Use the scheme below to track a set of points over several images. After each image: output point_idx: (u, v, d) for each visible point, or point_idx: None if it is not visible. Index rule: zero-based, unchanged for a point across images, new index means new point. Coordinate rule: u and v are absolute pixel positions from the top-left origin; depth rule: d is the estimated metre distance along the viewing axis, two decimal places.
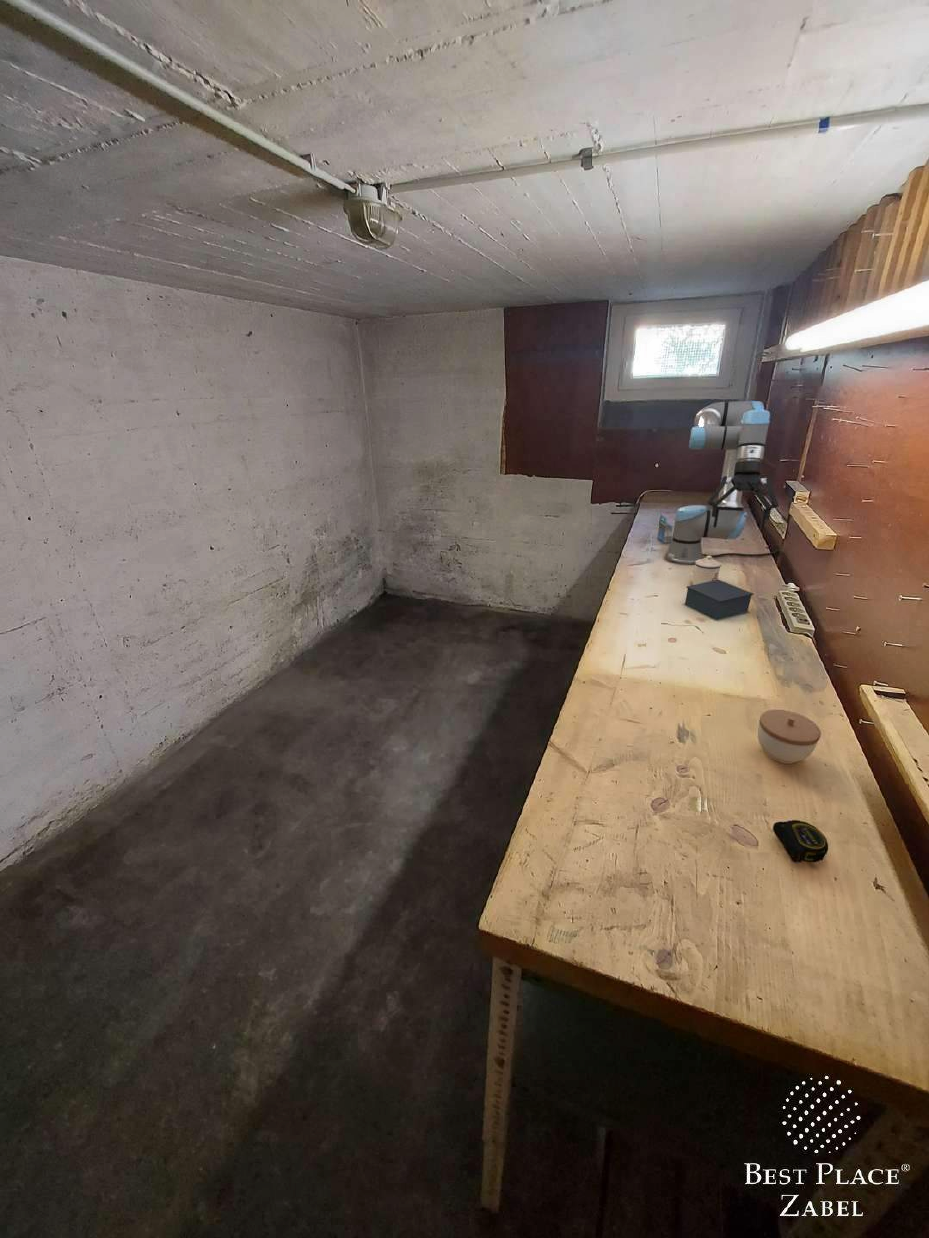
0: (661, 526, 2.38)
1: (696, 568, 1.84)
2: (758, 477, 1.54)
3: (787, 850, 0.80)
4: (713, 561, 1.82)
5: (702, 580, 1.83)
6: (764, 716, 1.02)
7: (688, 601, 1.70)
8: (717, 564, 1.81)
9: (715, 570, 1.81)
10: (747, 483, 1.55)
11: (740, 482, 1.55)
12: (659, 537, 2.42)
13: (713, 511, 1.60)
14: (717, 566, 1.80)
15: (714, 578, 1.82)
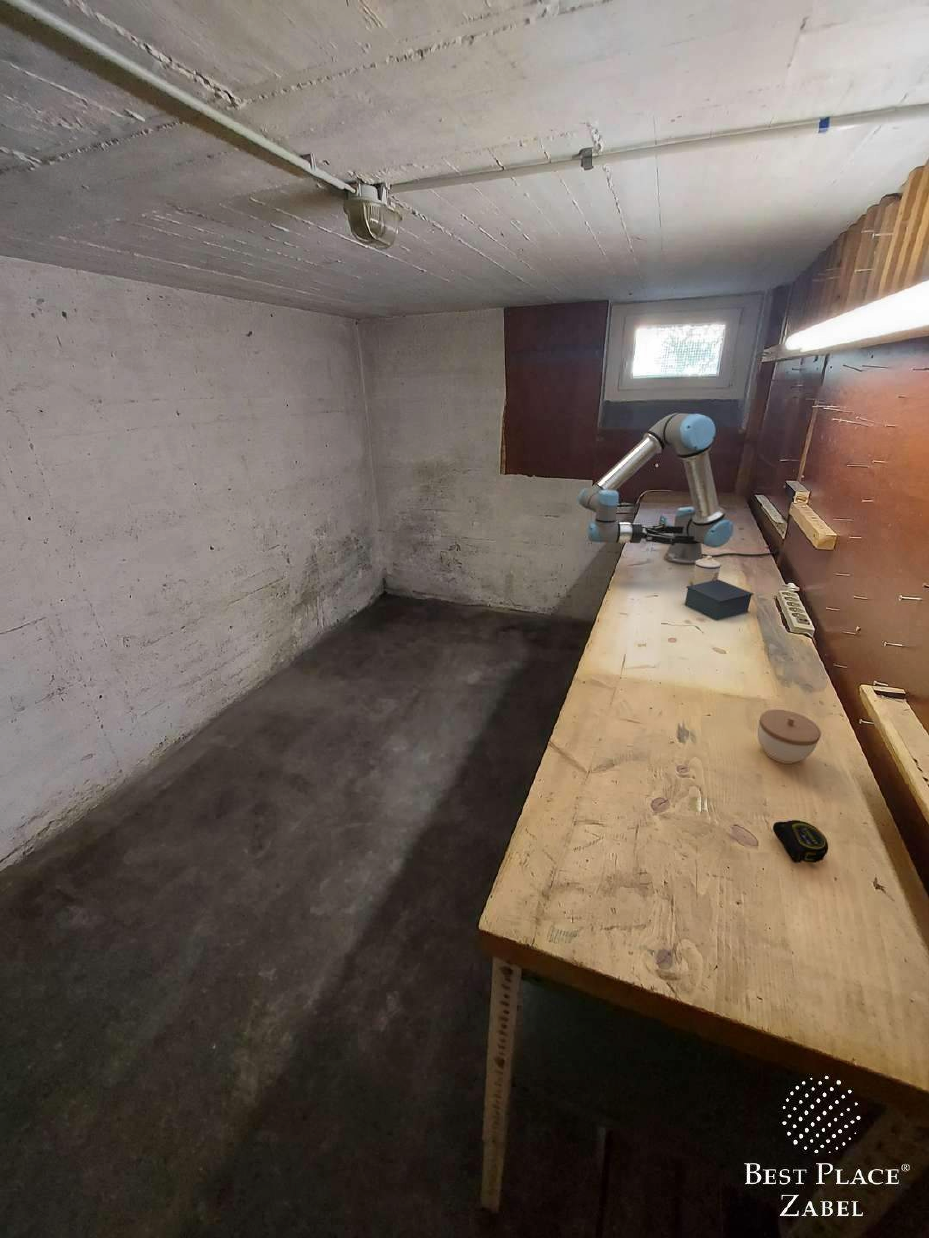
0: None
1: (696, 568, 1.84)
2: (644, 538, 1.81)
3: (787, 850, 0.80)
4: (713, 561, 1.82)
5: (702, 580, 1.83)
6: (764, 716, 1.02)
7: (688, 601, 1.70)
8: (717, 564, 1.81)
9: (715, 570, 1.81)
10: None
11: None
12: None
13: None
14: (717, 566, 1.80)
15: (714, 578, 1.82)
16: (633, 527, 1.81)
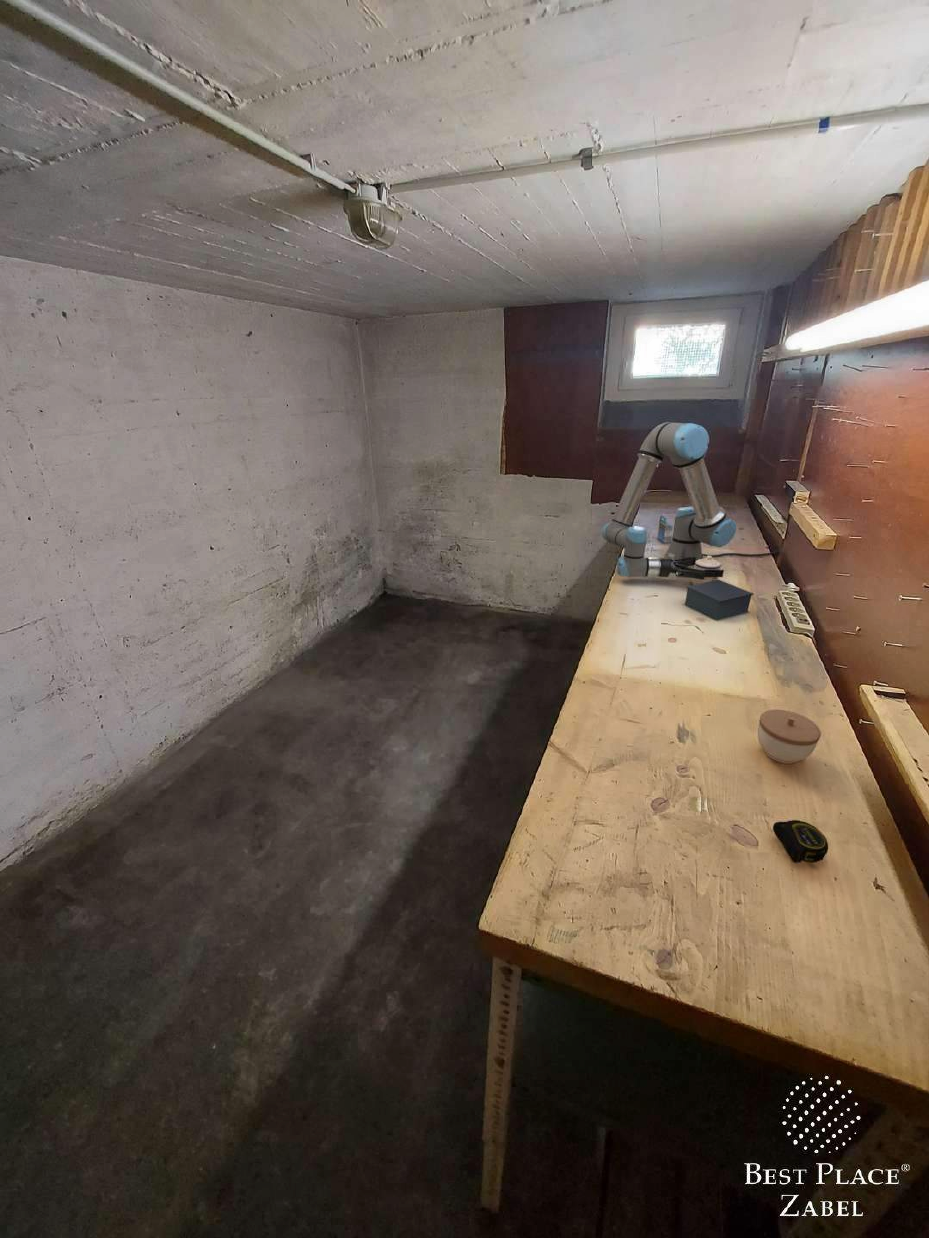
0: (661, 526, 2.38)
1: (696, 568, 1.84)
2: None
3: (787, 850, 0.80)
4: (713, 561, 1.82)
5: (702, 580, 1.83)
6: (764, 716, 1.02)
7: (688, 601, 1.70)
8: (717, 564, 1.81)
9: None
10: None
11: None
12: (659, 537, 2.42)
13: None
14: (717, 566, 1.80)
15: (714, 578, 1.82)
16: (661, 562, 1.86)
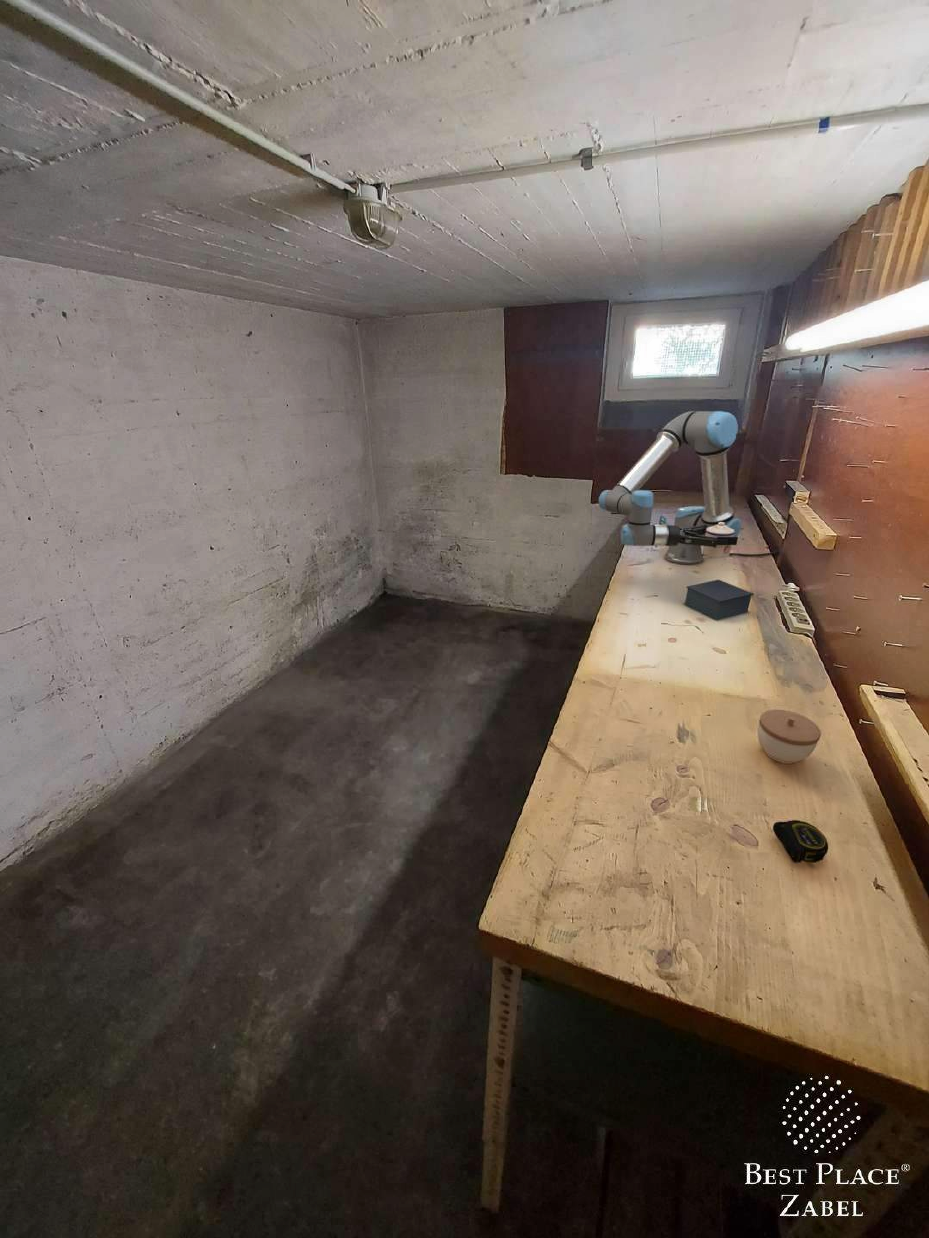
0: None
1: None
2: (682, 541, 1.70)
3: (787, 850, 0.80)
4: (726, 528, 1.66)
5: (713, 549, 1.68)
6: (764, 716, 1.02)
7: (688, 601, 1.70)
8: (730, 531, 1.65)
9: None
10: None
11: None
12: None
13: None
14: (730, 533, 1.65)
15: (727, 546, 1.67)
16: (669, 529, 1.70)
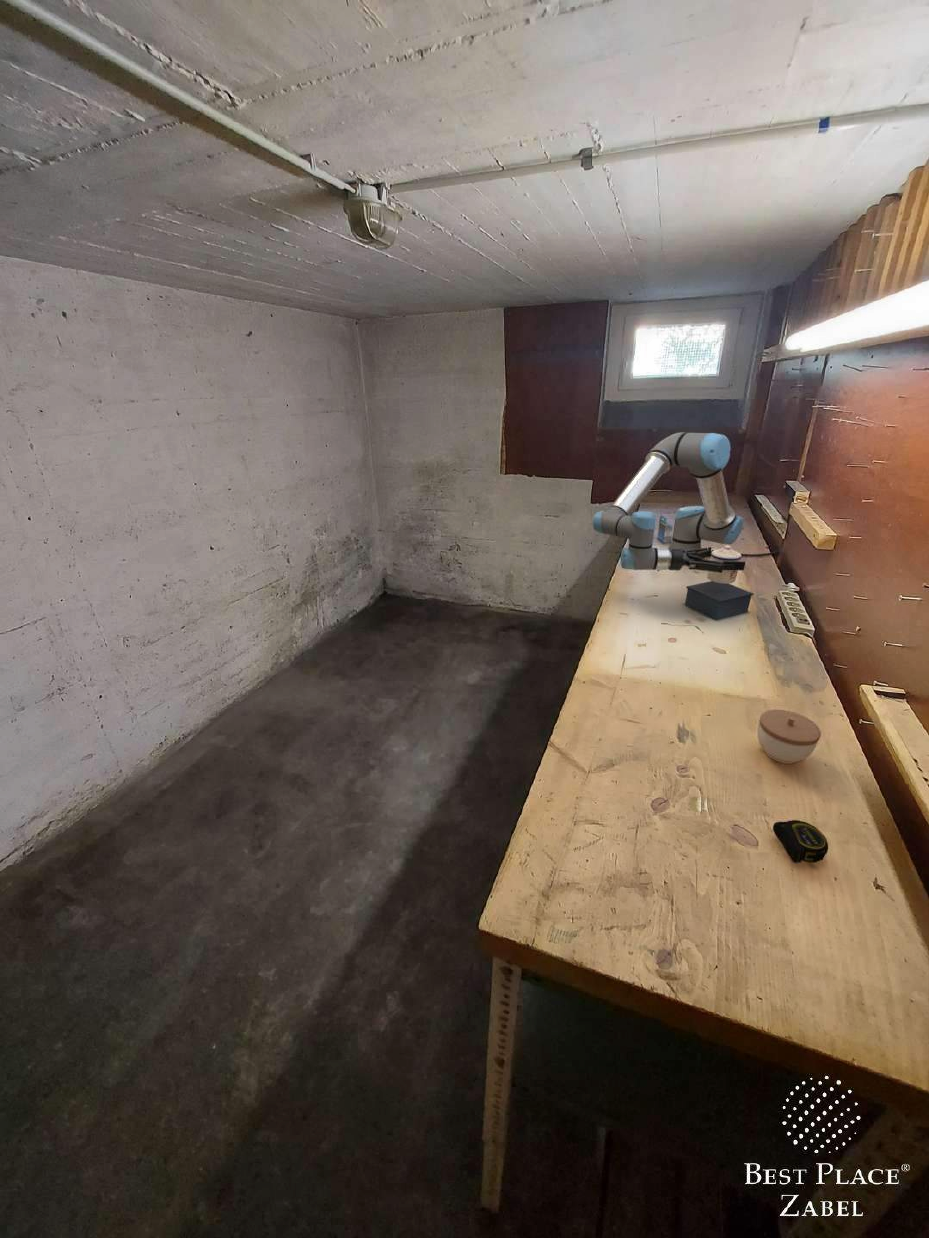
0: (661, 526, 2.38)
1: (712, 560, 1.59)
2: None
3: (787, 850, 0.80)
4: (733, 552, 1.56)
5: (719, 574, 1.58)
6: (764, 716, 1.02)
7: (688, 601, 1.70)
8: (737, 555, 1.56)
9: None
10: None
11: None
12: (659, 537, 2.42)
13: None
14: (737, 557, 1.55)
15: (734, 571, 1.57)
16: (672, 553, 1.60)
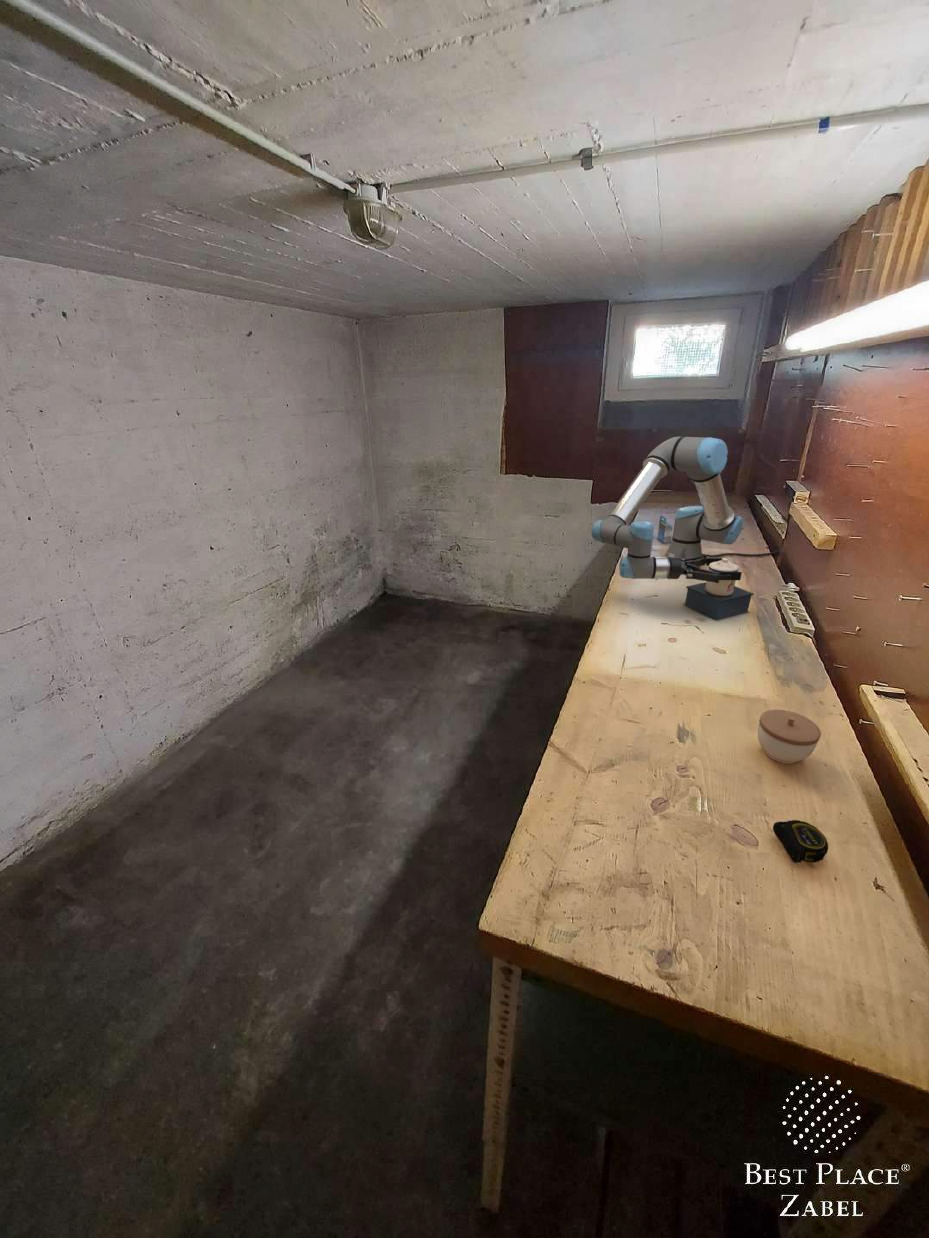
0: (661, 526, 2.38)
1: None
2: None
3: (787, 850, 0.80)
4: (730, 564, 1.58)
5: (717, 586, 1.60)
6: (764, 716, 1.02)
7: (688, 601, 1.70)
8: (734, 568, 1.57)
9: None
10: None
11: None
12: (659, 537, 2.42)
13: None
14: (734, 570, 1.57)
15: (731, 584, 1.59)
16: (671, 562, 1.62)
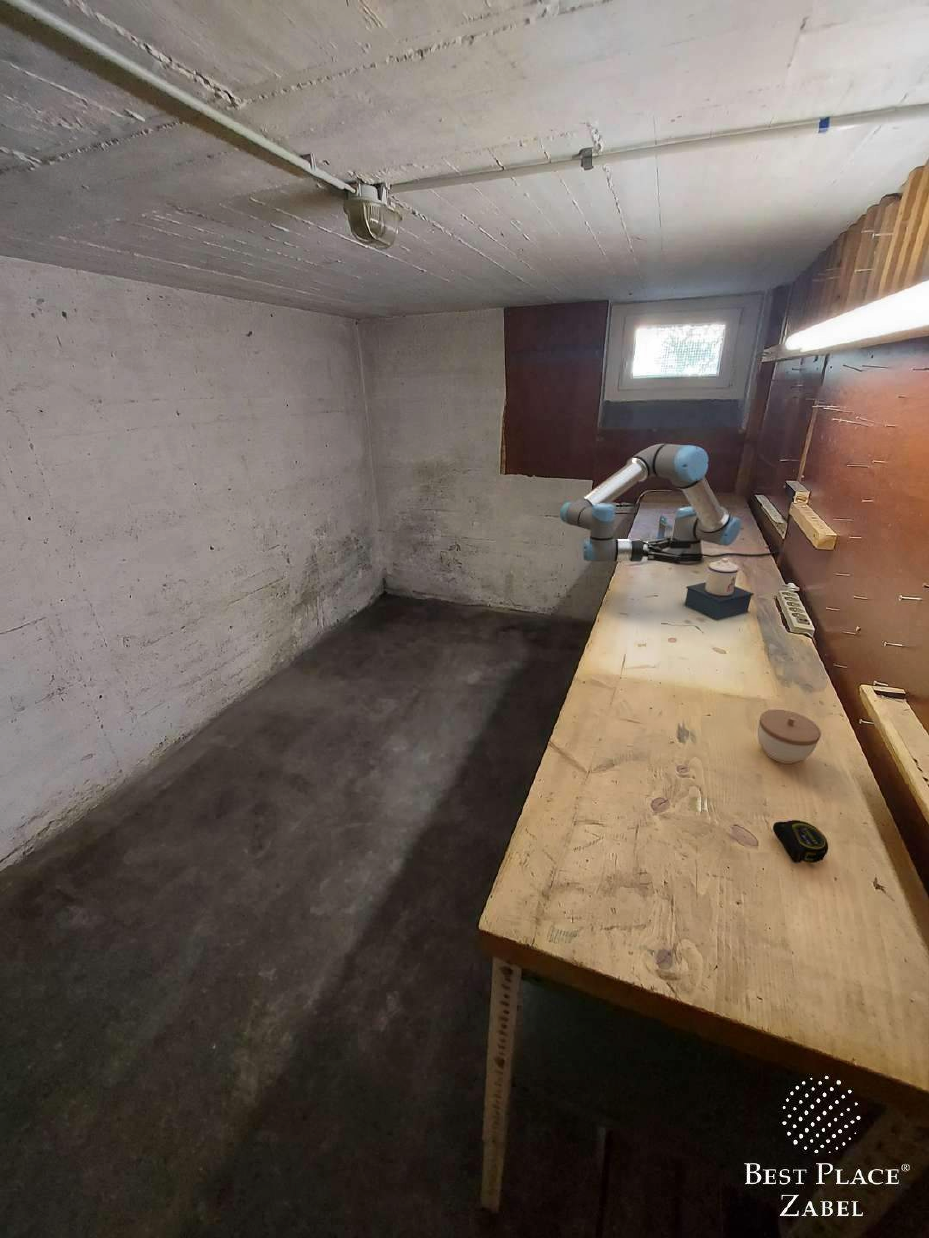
0: (661, 526, 2.38)
1: (710, 572, 1.61)
2: None
3: (787, 850, 0.80)
4: (730, 564, 1.58)
5: (717, 586, 1.60)
6: (764, 716, 1.02)
7: (688, 601, 1.70)
8: (734, 568, 1.57)
9: (733, 575, 1.58)
10: None
11: None
12: (659, 537, 2.42)
13: None
14: (734, 570, 1.57)
15: (731, 584, 1.59)
16: (633, 544, 1.61)
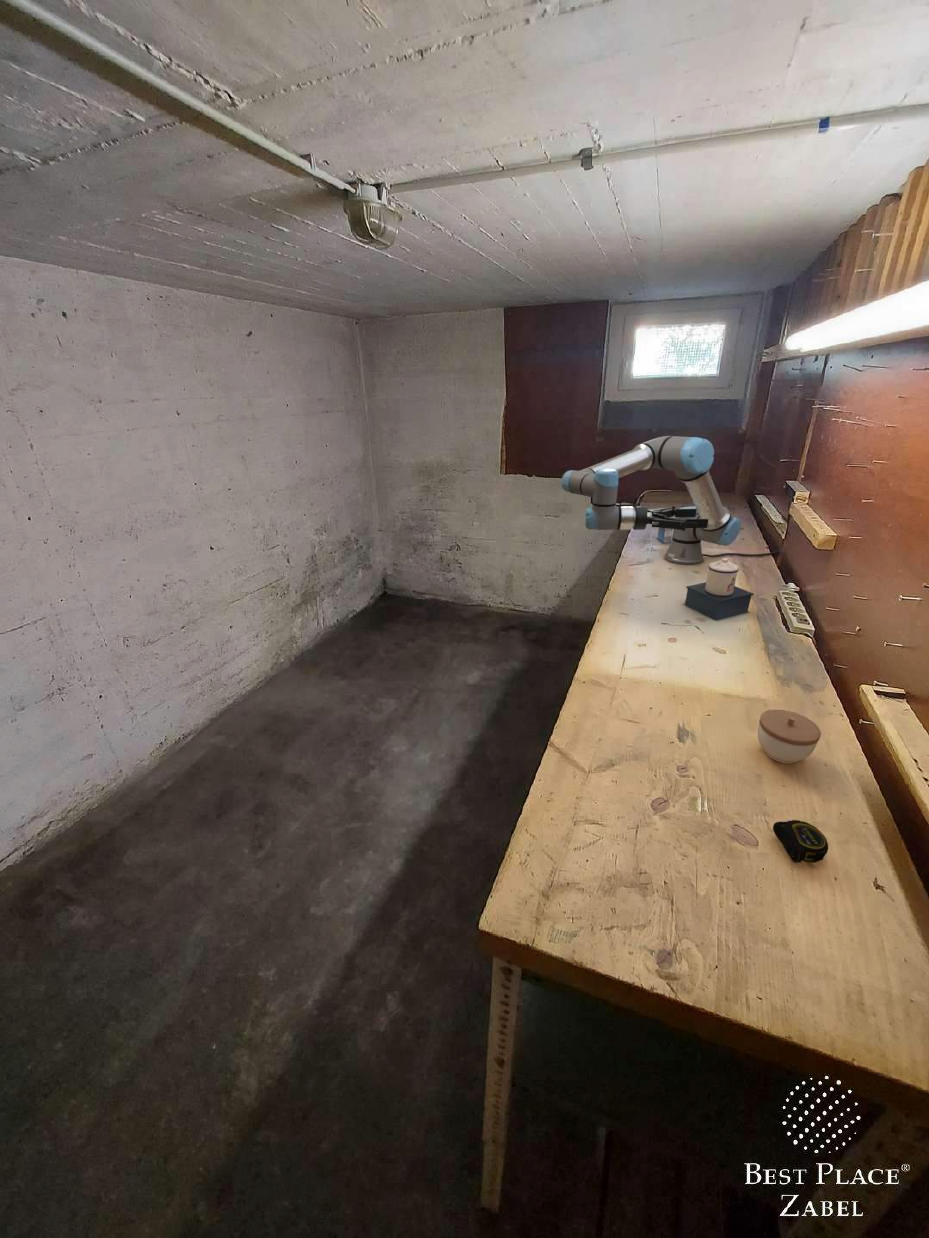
0: None
1: (710, 572, 1.61)
2: None
3: (787, 850, 0.80)
4: (730, 564, 1.58)
5: (717, 586, 1.60)
6: (764, 716, 1.02)
7: (688, 601, 1.70)
8: (734, 568, 1.57)
9: (733, 575, 1.58)
10: None
11: None
12: (659, 537, 2.42)
13: None
14: (734, 570, 1.57)
15: (731, 584, 1.59)
16: (636, 511, 1.56)
